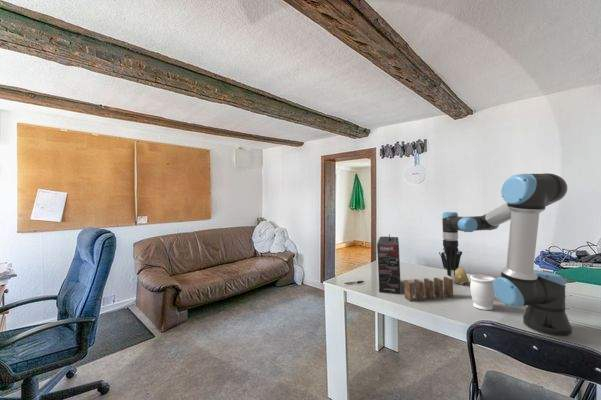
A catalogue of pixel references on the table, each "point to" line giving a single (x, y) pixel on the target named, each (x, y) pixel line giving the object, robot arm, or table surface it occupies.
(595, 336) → the table surface
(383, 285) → the headset box
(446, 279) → the domino
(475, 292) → the jar
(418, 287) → the domino
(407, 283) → the domino
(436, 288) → the domino
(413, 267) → the table surface
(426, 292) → the domino
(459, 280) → the yellow lumpy round lump
